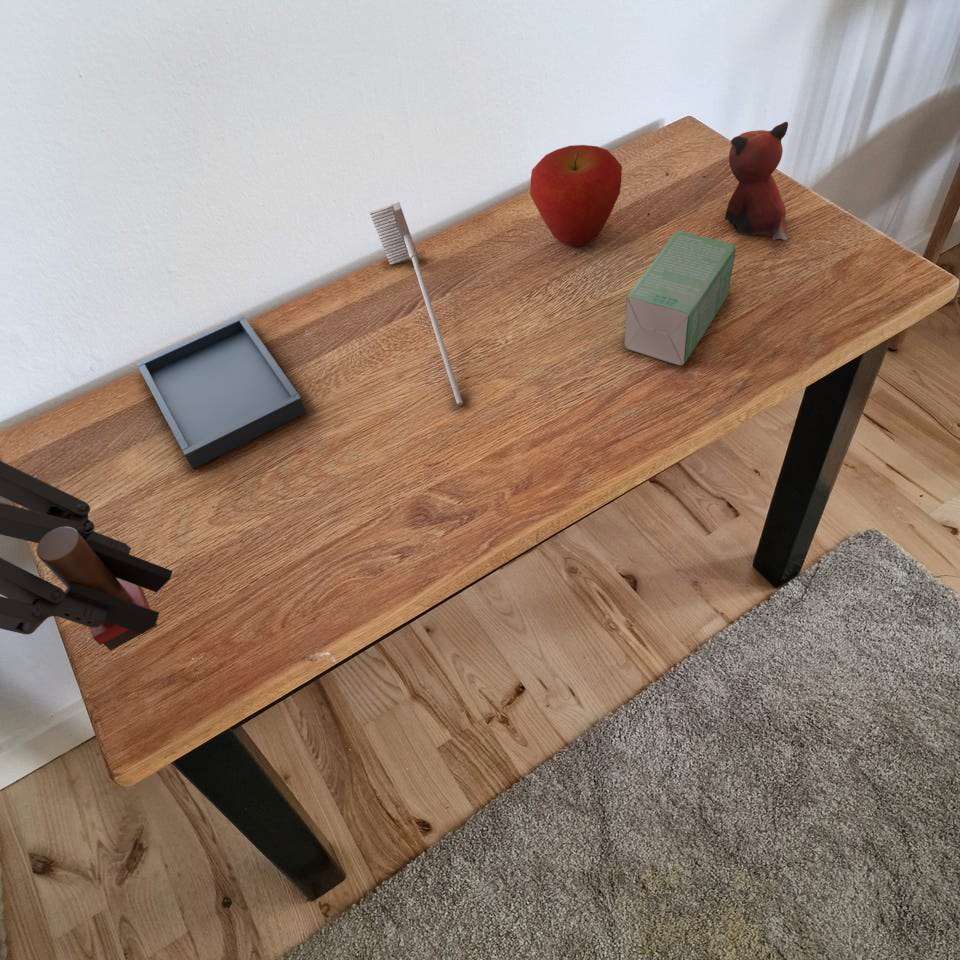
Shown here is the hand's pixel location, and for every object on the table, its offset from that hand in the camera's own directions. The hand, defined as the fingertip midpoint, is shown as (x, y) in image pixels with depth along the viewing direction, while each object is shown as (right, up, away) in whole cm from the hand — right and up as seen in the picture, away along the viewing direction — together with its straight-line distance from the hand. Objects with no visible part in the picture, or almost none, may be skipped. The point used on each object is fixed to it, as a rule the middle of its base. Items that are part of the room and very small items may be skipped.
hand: (157, 601), depth 64 cm
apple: (+38, +41, +42) cm, 70 cm away
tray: (-5, +19, +31) cm, 37 cm away
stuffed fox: (+60, +41, +40) cm, 83 cm away
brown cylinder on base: (-5, -1, +5) cm, 7 cm away
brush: (+19, +28, +35) cm, 49 cm away
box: (+48, +28, +31) cm, 63 cm away
